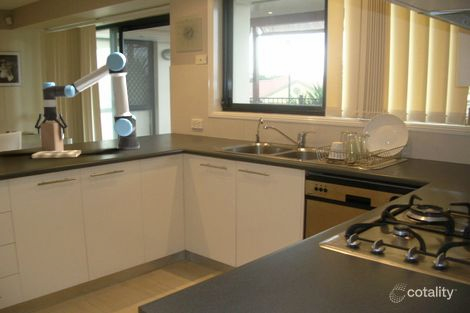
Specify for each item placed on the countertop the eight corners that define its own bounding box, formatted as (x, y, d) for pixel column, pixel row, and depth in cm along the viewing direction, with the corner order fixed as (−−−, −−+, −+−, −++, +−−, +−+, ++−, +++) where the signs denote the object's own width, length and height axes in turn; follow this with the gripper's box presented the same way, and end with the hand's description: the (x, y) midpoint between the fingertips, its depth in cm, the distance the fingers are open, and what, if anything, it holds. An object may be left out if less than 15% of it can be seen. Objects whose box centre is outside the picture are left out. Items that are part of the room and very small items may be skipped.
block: (55, 153, 295) (53, 123, 292) (41, 153, 297) (39, 123, 294) (64, 151, 304) (62, 121, 301) (50, 151, 306) (48, 121, 303)
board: (81, 153, 297) (80, 150, 296) (76, 157, 281) (76, 153, 281) (39, 154, 293) (38, 151, 292) (32, 158, 277) (31, 154, 277)
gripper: (71, 106, 301) (72, 137, 305) (31, 106, 298) (33, 138, 301) (68, 106, 294) (70, 139, 297) (28, 106, 290) (30, 139, 294)
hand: (52, 138), depth 299 cm, fingers open, 13 cm apart
